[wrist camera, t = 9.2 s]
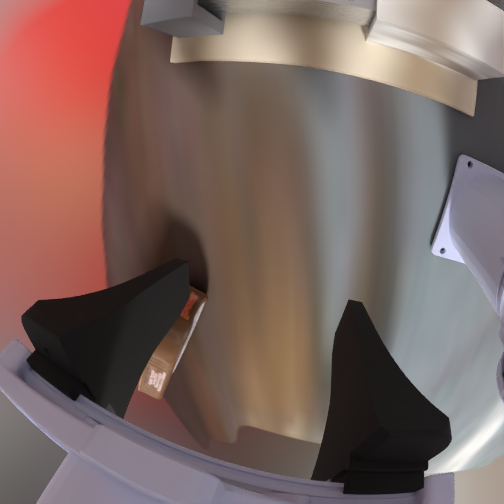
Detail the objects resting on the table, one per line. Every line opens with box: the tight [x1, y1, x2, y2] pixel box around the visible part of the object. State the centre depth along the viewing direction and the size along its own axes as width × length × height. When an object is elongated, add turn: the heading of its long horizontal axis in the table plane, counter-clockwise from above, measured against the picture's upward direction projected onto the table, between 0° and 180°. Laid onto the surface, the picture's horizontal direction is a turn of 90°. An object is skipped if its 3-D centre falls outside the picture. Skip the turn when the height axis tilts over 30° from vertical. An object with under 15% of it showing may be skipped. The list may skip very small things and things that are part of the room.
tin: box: [138, 286, 208, 399], centre depth 25 cm, size 15×3×8 cm, turn 155°
